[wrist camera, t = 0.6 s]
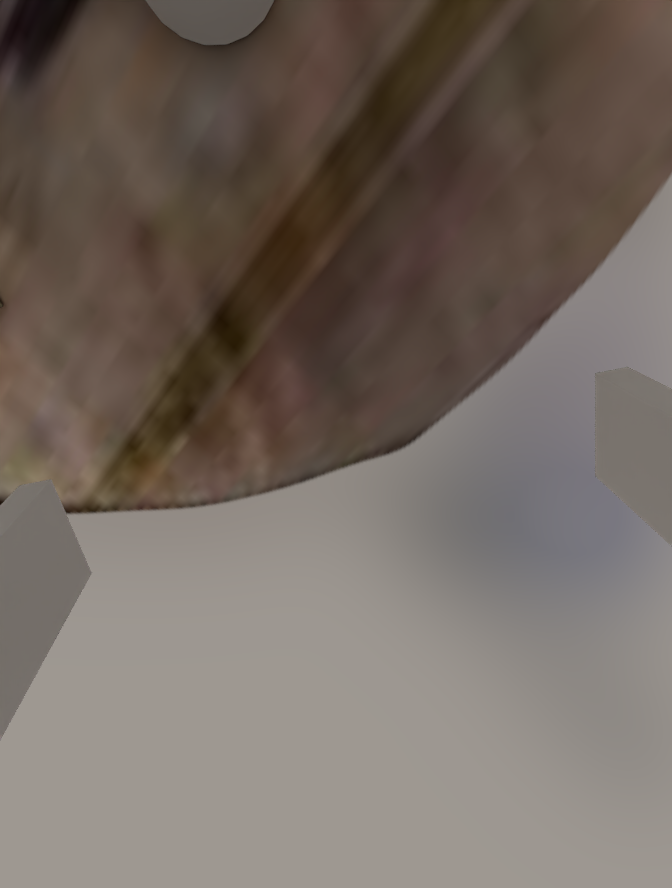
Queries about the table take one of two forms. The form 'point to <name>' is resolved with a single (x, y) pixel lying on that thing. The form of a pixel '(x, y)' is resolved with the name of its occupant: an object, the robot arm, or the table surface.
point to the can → (211, 18)
